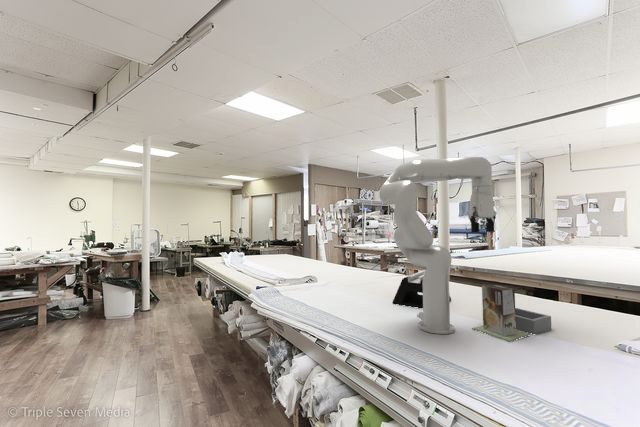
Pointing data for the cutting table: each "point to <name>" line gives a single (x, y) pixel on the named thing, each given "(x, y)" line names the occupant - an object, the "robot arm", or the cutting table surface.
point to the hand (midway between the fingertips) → (482, 232)
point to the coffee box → (499, 309)
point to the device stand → (411, 291)
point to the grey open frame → (532, 321)
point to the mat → (506, 338)
